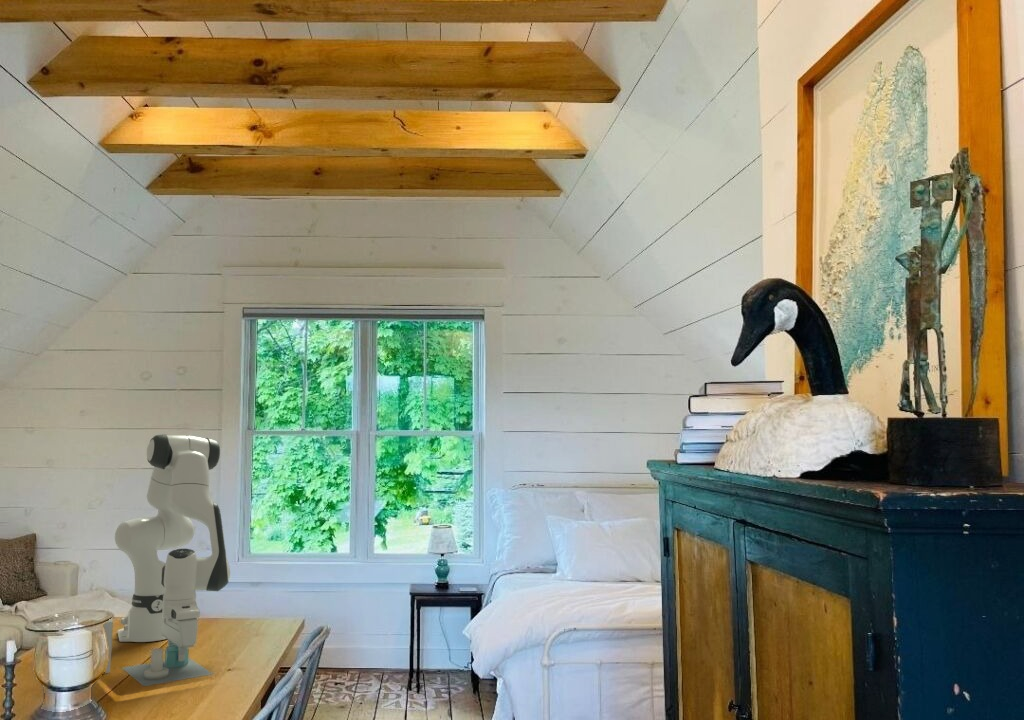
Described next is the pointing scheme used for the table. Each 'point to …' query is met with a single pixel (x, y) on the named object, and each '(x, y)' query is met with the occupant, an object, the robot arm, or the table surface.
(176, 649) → the cap
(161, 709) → the table surface
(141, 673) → the post board
